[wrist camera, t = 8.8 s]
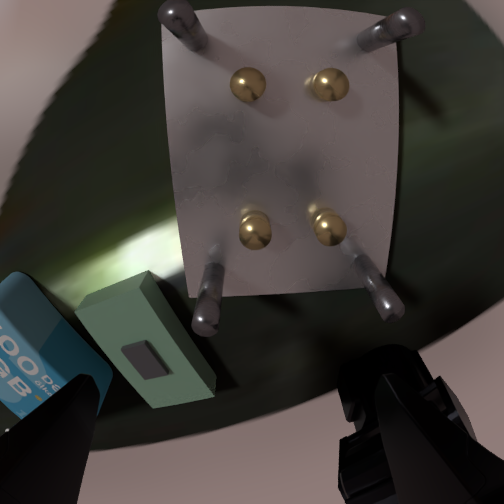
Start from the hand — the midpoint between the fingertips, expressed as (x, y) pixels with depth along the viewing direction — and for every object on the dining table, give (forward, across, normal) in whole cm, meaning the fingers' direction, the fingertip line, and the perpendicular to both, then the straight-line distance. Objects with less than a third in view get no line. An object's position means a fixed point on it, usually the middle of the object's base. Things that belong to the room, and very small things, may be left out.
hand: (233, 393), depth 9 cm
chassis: (+11, -3, -5) cm, 12 cm away
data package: (+8, +24, +12) cm, 28 cm away
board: (+11, +6, +7) cm, 15 cm away
